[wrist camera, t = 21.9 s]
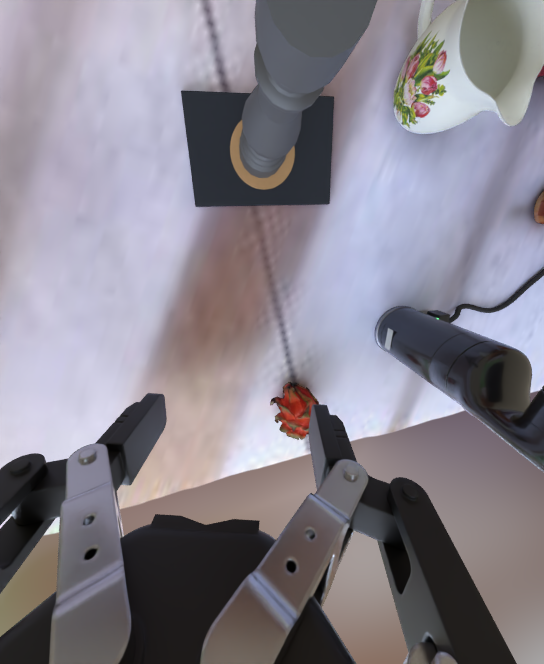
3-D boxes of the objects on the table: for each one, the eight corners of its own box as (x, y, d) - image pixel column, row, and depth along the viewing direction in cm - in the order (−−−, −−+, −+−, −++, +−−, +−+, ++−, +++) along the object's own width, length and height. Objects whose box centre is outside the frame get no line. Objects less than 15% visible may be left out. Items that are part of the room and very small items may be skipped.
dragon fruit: (291, 420, 54) (281, 369, 52) (329, 426, 50) (321, 371, 47) (272, 446, 47) (260, 389, 45) (315, 456, 43) (304, 393, 40)
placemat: (332, 98, 34) (334, 95, 34) (328, 204, 39) (329, 203, 38) (181, 92, 32) (180, 89, 31) (196, 206, 36) (195, 206, 36)
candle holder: (252, 113, 33) (302, -183, 10) (291, 144, 35) (411, -44, 12) (231, 160, 34) (229, -3, 11) (269, 187, 36) (336, 96, 13)
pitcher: (442, -9, 32) (579, -172, 19) (455, 148, 39) (564, 104, 26) (363, 25, 32) (450, -116, 19) (390, 176, 39) (467, 146, 26)
